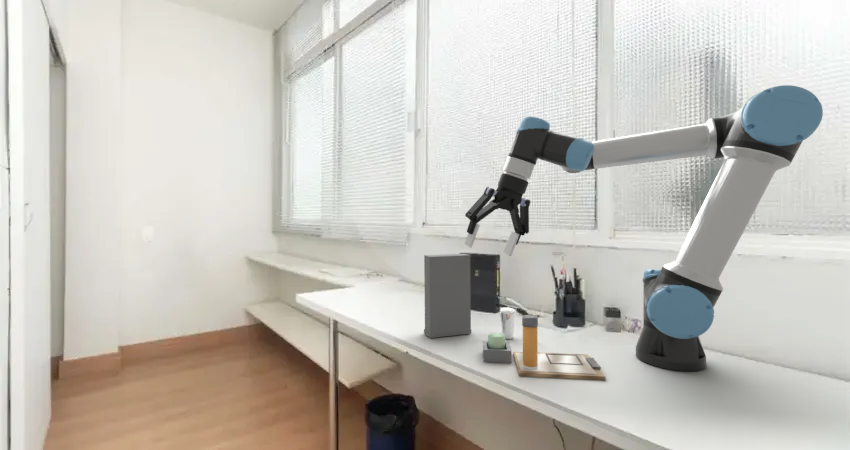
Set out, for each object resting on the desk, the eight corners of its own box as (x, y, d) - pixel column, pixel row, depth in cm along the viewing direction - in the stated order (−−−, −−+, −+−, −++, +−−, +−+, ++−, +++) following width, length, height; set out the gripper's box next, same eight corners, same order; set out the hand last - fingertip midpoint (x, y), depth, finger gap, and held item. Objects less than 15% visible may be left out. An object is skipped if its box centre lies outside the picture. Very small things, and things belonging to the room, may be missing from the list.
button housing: (509, 353, 104) (509, 342, 104) (511, 362, 97) (511, 351, 97) (483, 352, 105) (483, 341, 105) (483, 361, 98) (483, 349, 98)
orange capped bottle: (536, 364, 93) (536, 315, 93) (539, 370, 90) (538, 319, 89) (521, 363, 94) (521, 314, 93) (523, 369, 90) (523, 318, 90)
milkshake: (518, 340, 114) (518, 307, 114) (500, 339, 115) (499, 306, 115) (517, 335, 119) (517, 303, 118) (500, 334, 120) (499, 303, 119)
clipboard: (588, 357, 100) (588, 352, 100) (606, 380, 86) (606, 373, 86) (513, 354, 102) (513, 349, 102) (518, 375, 89) (518, 370, 89)
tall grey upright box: (463, 328, 127) (462, 253, 126) (471, 334, 121) (470, 255, 120) (423, 333, 122) (422, 255, 122) (429, 339, 116) (429, 256, 116)
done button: (504, 347, 102) (504, 333, 102) (505, 353, 98) (505, 338, 98) (488, 347, 103) (487, 332, 103) (488, 353, 99) (488, 337, 99)
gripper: (541, 185, 110) (514, 252, 114) (470, 161, 99) (444, 237, 103) (559, 190, 104) (530, 262, 108) (485, 165, 92) (456, 246, 96)
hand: (488, 250), depth 105 cm, fingers open, 13 cm apart
